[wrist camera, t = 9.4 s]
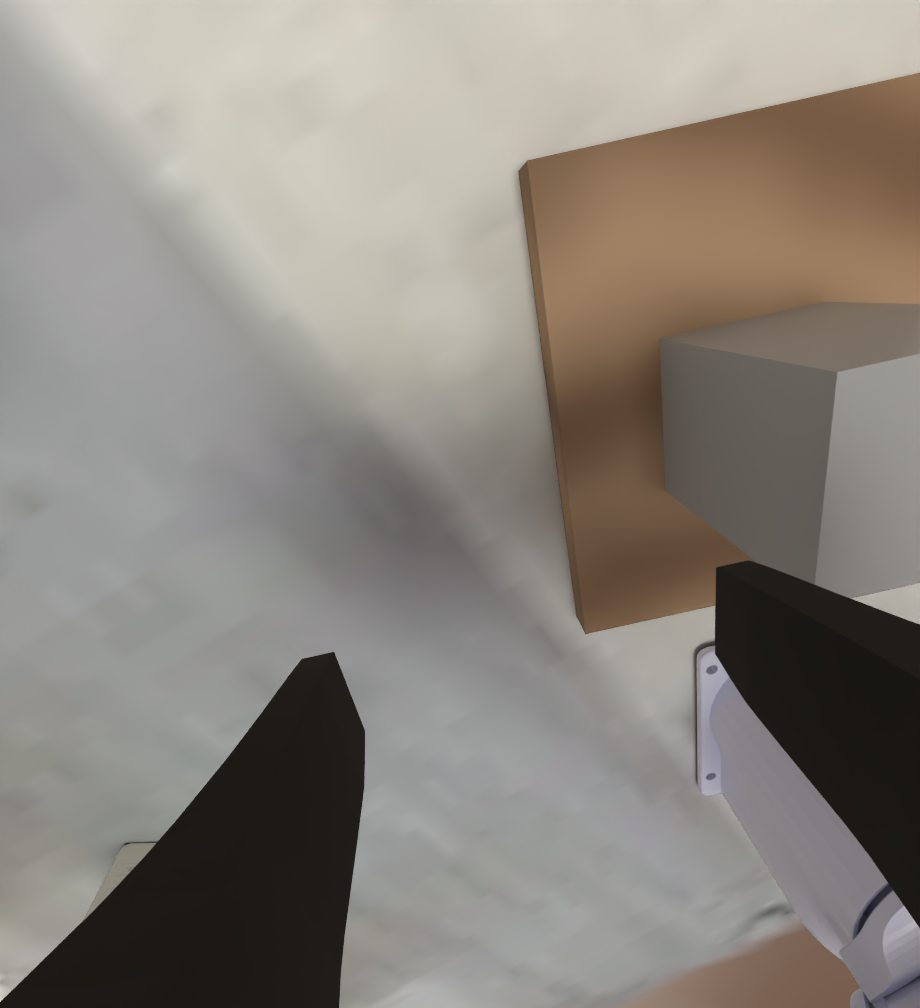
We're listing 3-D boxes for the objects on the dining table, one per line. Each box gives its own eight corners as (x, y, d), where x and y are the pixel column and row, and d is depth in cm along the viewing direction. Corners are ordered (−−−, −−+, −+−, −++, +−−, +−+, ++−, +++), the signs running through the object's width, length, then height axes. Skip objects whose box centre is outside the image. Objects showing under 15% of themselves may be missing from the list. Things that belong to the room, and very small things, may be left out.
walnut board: (856, 553, 21) (881, 568, 20) (576, 615, 21) (585, 633, 20) (925, 79, 14) (968, 62, 13) (518, 170, 14) (527, 161, 13)
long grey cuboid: (809, 458, 17) (1042, 555, 11) (665, 490, 17) (812, 606, 11) (823, 301, 15) (1121, 308, 9) (659, 338, 15) (837, 372, 9)
